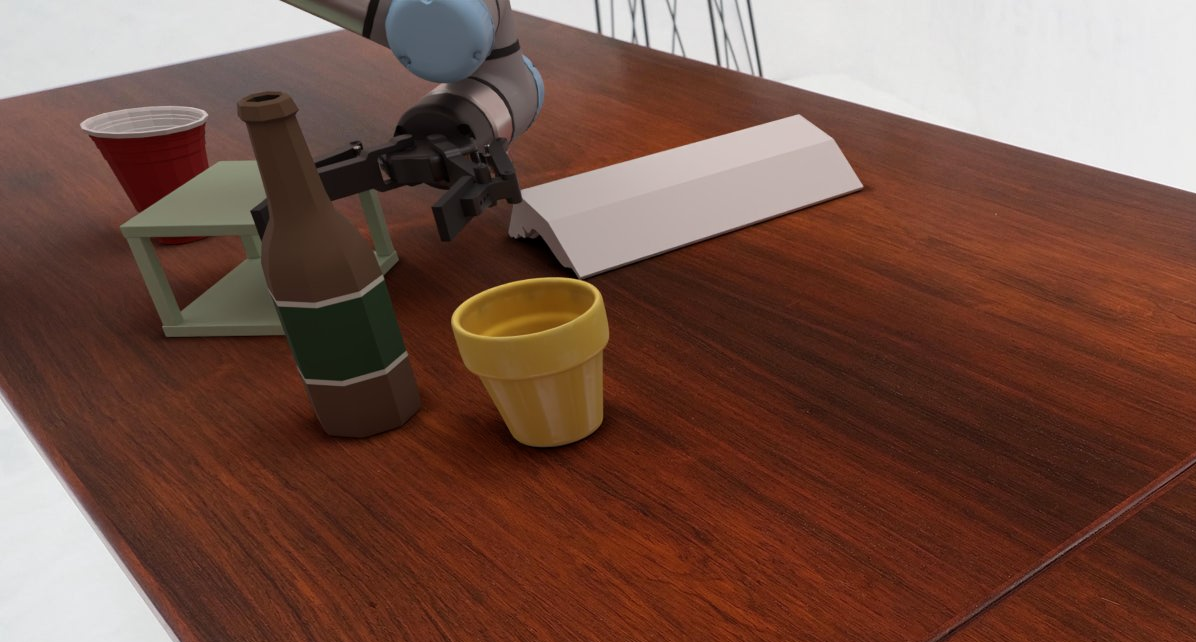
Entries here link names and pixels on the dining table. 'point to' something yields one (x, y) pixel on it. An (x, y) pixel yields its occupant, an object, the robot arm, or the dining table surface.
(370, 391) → the beer bottle
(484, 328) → the flower pot
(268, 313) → the rack
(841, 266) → the dining table surface
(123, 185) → the plastic cup
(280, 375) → the dining table surface
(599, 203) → the molding piece
